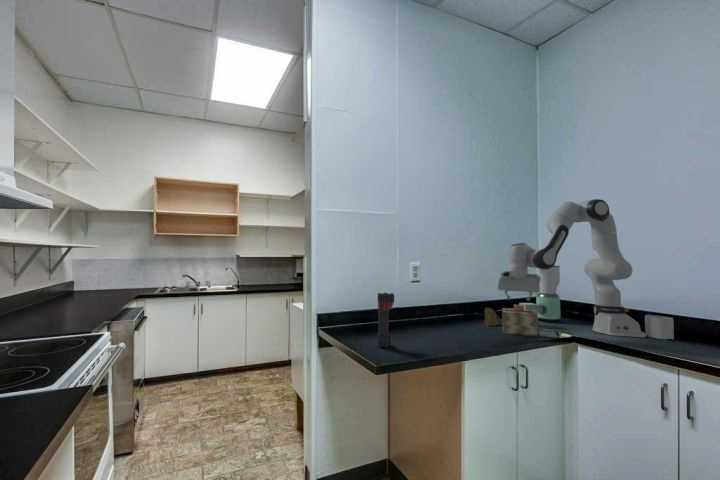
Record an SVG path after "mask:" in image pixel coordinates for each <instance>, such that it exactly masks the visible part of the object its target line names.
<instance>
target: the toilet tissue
mask: <svg viewBox="0 0 720 480" xmlns="http://www.w3.org/2000/svg"><path fill="white" fill-rule="evenodd" d="M644 328H645V332H644V333H645V334H646V335H647V337H649V338H653V339H659V340H667V339H672V340H674V339H675V333H674V332H675V331H674V330H675V329H674V328H675V327H674V318H673V317H671V316H670V317H669V316H663V315H655V314H654V315H653V314H646V315H645V316H644Z"/></svg>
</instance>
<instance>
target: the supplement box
mask: <svg viewBox="0 0 720 480" xmlns="http://www.w3.org/2000/svg"><path fill="white" fill-rule="evenodd" d="M518 305H523V306H524V310H535V312H536V313H537V321H538V322H539V320H538V305H537V304H536V303H533V302H519V304H518Z"/></svg>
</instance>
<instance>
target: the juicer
mask: <svg viewBox="0 0 720 480" xmlns="http://www.w3.org/2000/svg"><path fill="white" fill-rule="evenodd" d="M560 267H561V266H560V265H554V266H553V267H552V268H550V269H540V268H535V273H536V274H537V275H538V276H537V277H539V276H540V283H539V285H540V291H539V292H537V294H536V300H535V304H537V305H538V321H545V322H546V321H547V322H548V323H550V324H551V323H553V322H561V299H560V296H559V295H558V294H557V291H558V286H559V285H560V282H561V281H560V280H561V276H560V275H561V273H560Z"/></svg>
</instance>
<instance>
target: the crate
mask: <svg viewBox="0 0 720 480" xmlns="http://www.w3.org/2000/svg"><path fill="white" fill-rule="evenodd" d="M501 310H502V313H501V317H502V320H501V321H502V325H501V326H502V334H503V335H504V334H505V335H513V336H514V335H516V336H527V337H536V338H537V337H539V334H538V331H539V330H538V329H539V320H538V321H537V313H536V312H535V310H524V312H514V308H507V307H502V308H501Z"/></svg>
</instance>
